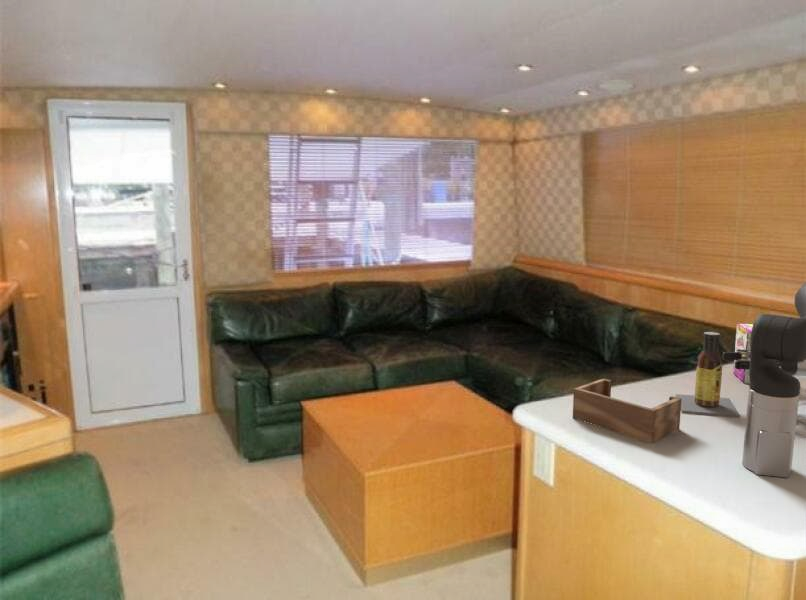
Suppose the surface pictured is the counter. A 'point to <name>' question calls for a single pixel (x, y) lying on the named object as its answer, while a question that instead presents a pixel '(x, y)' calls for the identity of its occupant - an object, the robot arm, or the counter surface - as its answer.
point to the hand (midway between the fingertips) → (729, 360)
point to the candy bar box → (743, 344)
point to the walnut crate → (625, 413)
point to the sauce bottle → (709, 372)
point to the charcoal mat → (722, 409)
